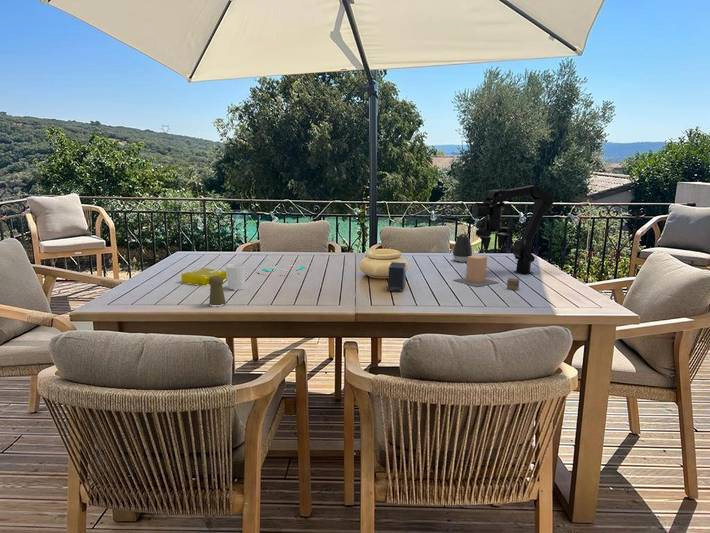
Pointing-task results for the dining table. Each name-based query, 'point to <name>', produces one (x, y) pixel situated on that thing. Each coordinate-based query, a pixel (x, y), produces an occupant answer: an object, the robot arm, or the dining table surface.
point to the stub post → (512, 284)
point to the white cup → (236, 276)
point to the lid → (281, 268)
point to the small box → (396, 276)
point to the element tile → (202, 276)
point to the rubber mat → (487, 282)
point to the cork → (216, 290)
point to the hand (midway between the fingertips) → (492, 249)
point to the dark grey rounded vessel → (462, 248)
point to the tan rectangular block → (476, 269)
